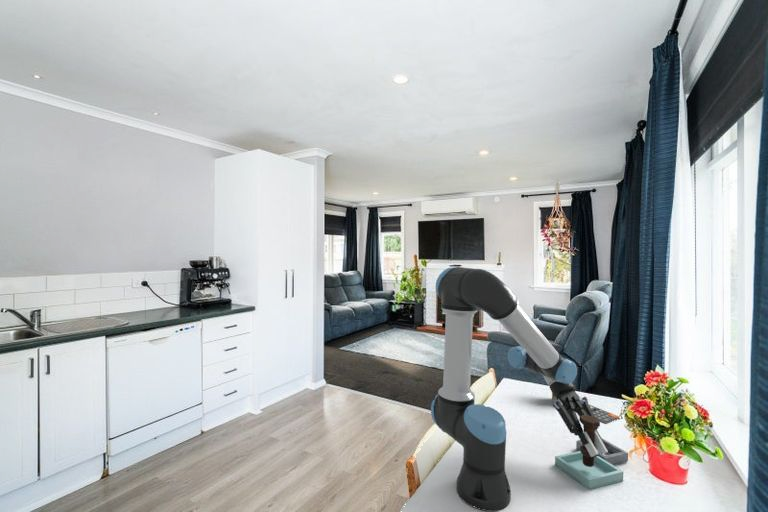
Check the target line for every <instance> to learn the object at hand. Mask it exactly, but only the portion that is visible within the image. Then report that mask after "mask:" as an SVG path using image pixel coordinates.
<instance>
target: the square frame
mask: <svg viewBox="0 0 768 512" xmlns="http://www.w3.org/2000/svg"><path fill="white" fill-rule="evenodd" d="M602 442H603V444H604V445H605V447H606V449H607V451H608V452H607V453H609V454H601V455H600V453H599V451H598V450H597V452H598V454H597V456H599V457H601V458H602V459H604V460H605V461H607V462H609V463H610V464H612V465H614V466H617V465H620V464H624V462H625V463H628V462H629V452H627V451H626V450H624V449H622V448H620V447H618V446H617V445H614V444H613V443H612V442H609V441H608V440H605V439H604V438H602ZM581 445H583V444H582V442H581V440H580V439H578V440H576V447H575V449H576V450H577V452H578V451H580V446H581ZM595 448H596V446H595ZM627 461H628V462H627Z"/></svg>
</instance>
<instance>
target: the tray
mask: <svg viewBox="0 0 768 512" xmlns="http://www.w3.org/2000/svg"><path fill="white" fill-rule="evenodd" d="M554 465H555V466H556V467H558V468H559V469H560V470H561V471H563V472H564V473H565V474H566V475H568V476H569V477H571V478H572V479H573V480H575V481H577V482H578V483H579V484H581V485H582V486H584V487H585V488H586V489H587V490H590V491H591V490H593V489H597V488H601V487H604V486H607V485H608V486H609V485H612V484H615V483H619V482H622V481H624V471H623V470H622V469H621V468H618V467H616V465H612V464H610V463H609V462H607V461H605V460H604V459H602V458H601V457H599V456H596V457H594V466H592V467H588V466H585V465H584V464H583V454H582V453H581V451H578V450H577V451H573V452H568V453H564V454H560V455H556V456H554Z"/></svg>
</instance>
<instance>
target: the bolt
mask: <svg viewBox="0 0 768 512" xmlns="http://www.w3.org/2000/svg"><path fill="white" fill-rule="evenodd" d="M578 417H579V416H578ZM578 420H579V422H580V424H581V426H582V429H583V432H587V434H588V436H589V438H590V439H591V441H592V443H593V445H594V447H595V427H598V428H600V426H601V422H600V421H599V420H598V419H597V418H595V417H593V416H589V415H582V416H580V417H579V418H578ZM595 448H596V447H595ZM580 451H581V453H582V454H583V464H584V465H585V466H588V467H592V466H594V457H596V456H597V455H595V456H593V457H591V456H590V454H589V452H588V450H587V449H586V447H585V445H581V446H580Z"/></svg>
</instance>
